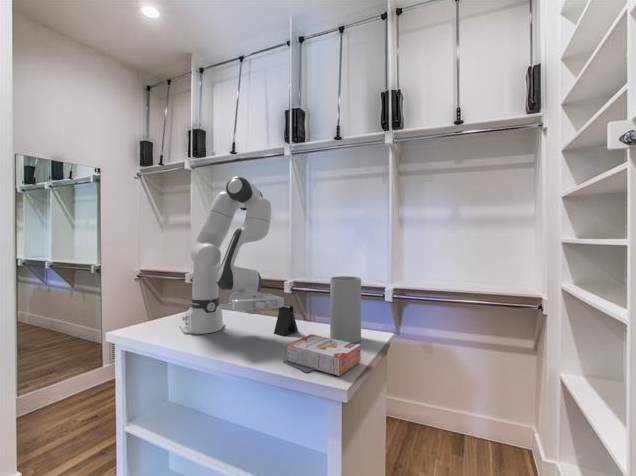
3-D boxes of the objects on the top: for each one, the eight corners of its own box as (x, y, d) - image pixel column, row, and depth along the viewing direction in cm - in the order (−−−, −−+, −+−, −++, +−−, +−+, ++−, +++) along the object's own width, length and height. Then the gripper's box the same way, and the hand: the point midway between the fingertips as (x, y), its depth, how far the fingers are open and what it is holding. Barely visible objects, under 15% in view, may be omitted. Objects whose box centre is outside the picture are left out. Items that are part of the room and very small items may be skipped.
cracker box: (310, 332, 119) (361, 344, 107) (310, 349, 119) (361, 362, 107) (285, 343, 107) (340, 357, 96) (285, 361, 107) (340, 377, 96)
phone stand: (283, 336, 136) (284, 307, 136) (273, 333, 139) (273, 306, 139) (298, 331, 143) (298, 304, 143) (288, 329, 146) (288, 302, 146)
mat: (283, 362, 108) (283, 361, 108) (318, 350, 119) (318, 349, 119) (306, 373, 99) (306, 372, 99) (342, 360, 110) (342, 358, 110)
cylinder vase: (349, 347, 123) (349, 281, 123) (323, 340, 131) (324, 278, 131) (366, 339, 132) (367, 278, 132) (342, 333, 140) (342, 275, 140)
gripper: (225, 295, 123) (239, 297, 112) (274, 293, 135) (290, 295, 123) (225, 312, 122) (239, 316, 111) (274, 308, 134) (290, 311, 123)
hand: (266, 305), depth 117 cm, fingers closed
